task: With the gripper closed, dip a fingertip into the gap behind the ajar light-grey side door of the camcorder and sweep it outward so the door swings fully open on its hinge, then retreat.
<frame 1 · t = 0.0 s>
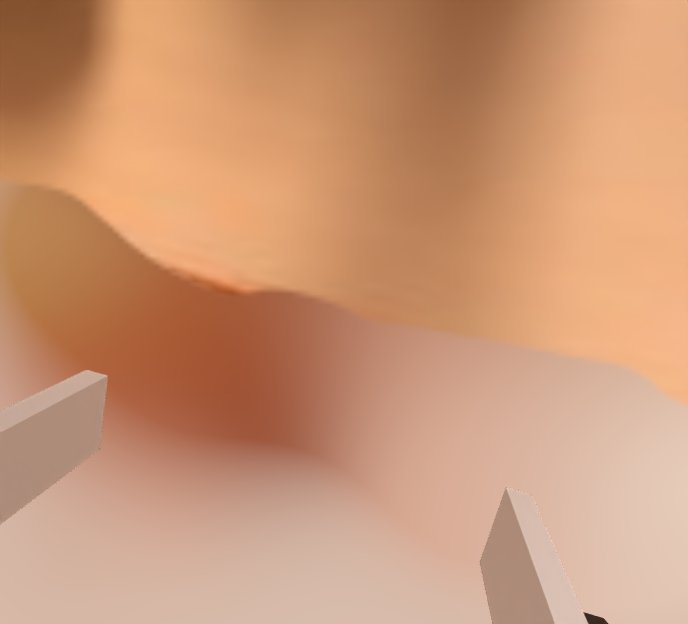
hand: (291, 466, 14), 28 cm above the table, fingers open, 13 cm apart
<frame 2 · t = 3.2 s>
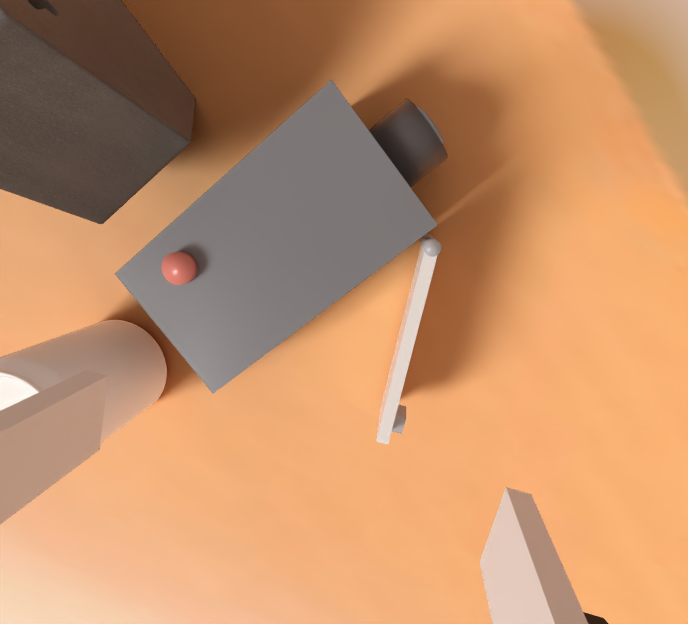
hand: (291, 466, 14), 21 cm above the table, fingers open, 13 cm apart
beverage can: (127, 363, 39), on the table
grey bevelled block: (123, 85, 34), on the table
door: (412, 335, 31), point 4 cm above the table, hinge at 40.0°
camcorder: (294, 243, 35), on the table
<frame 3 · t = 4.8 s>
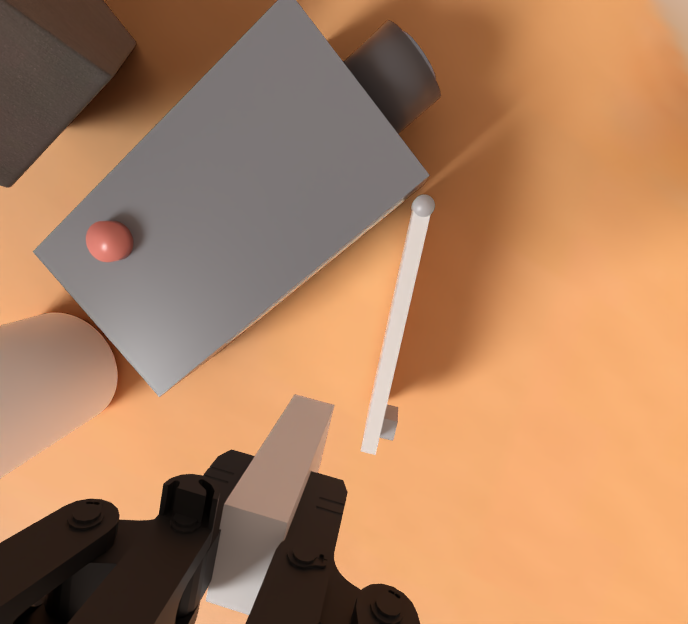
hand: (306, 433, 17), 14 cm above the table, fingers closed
beverage can: (73, 364, 33), on the table
grey bevelled block: (51, 30, 28), on the table
door: (403, 320, 26), point 4 cm above the table, hinge at 40.0°
camcorder: (260, 215, 29), on the table
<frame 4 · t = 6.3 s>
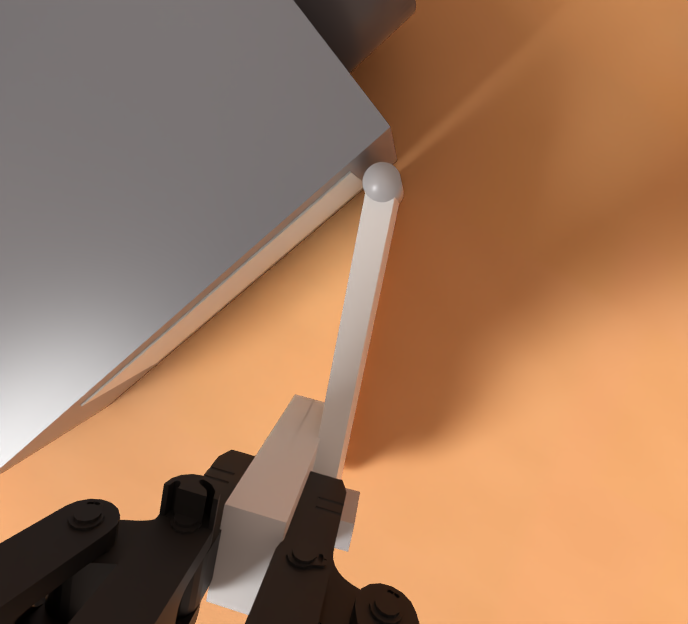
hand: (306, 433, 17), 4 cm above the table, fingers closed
door: (362, 368, 16), point 4 cm above the table, hinge at 40.0°, touching gripper
camcorder: (163, 207, 20), on the table
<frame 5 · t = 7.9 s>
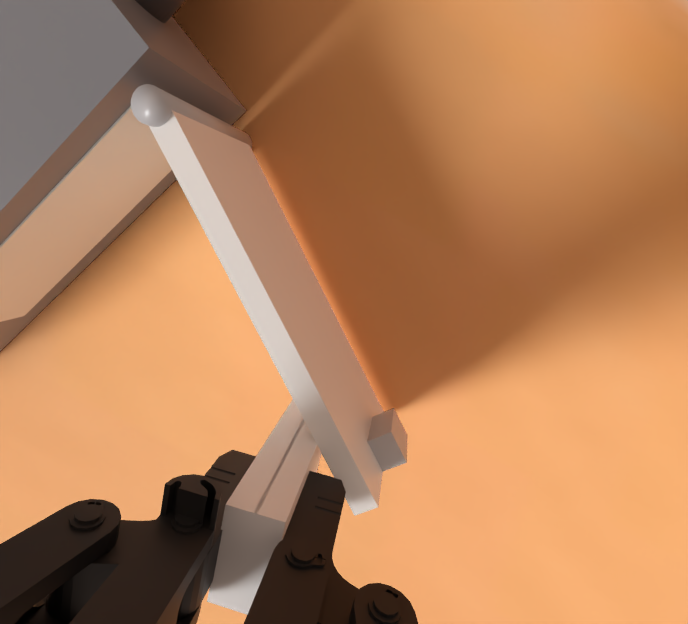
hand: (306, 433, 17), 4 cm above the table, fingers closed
door: (299, 290, 16), point 4 cm above the table, hinge at 77.6°, touching gripper
camcorder: (29, 161, 20), on the table
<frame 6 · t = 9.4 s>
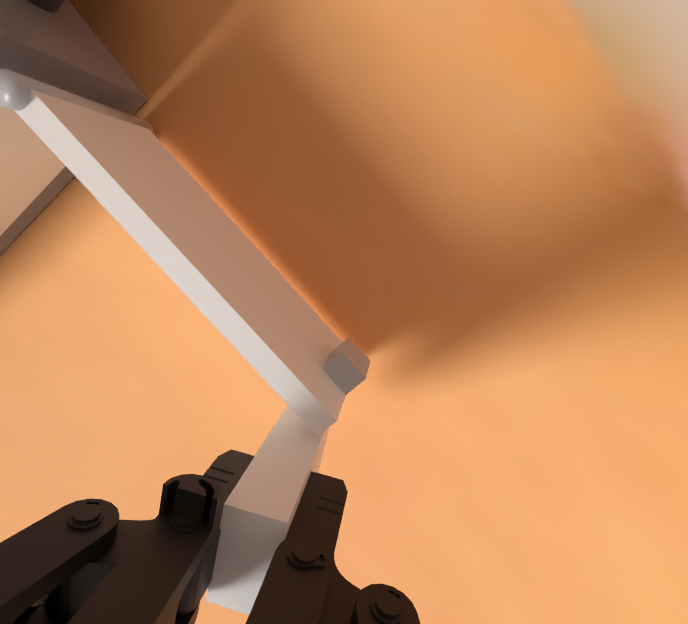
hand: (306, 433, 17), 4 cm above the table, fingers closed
door: (220, 243, 16), point 4 cm above the table, hinge at 93.5°
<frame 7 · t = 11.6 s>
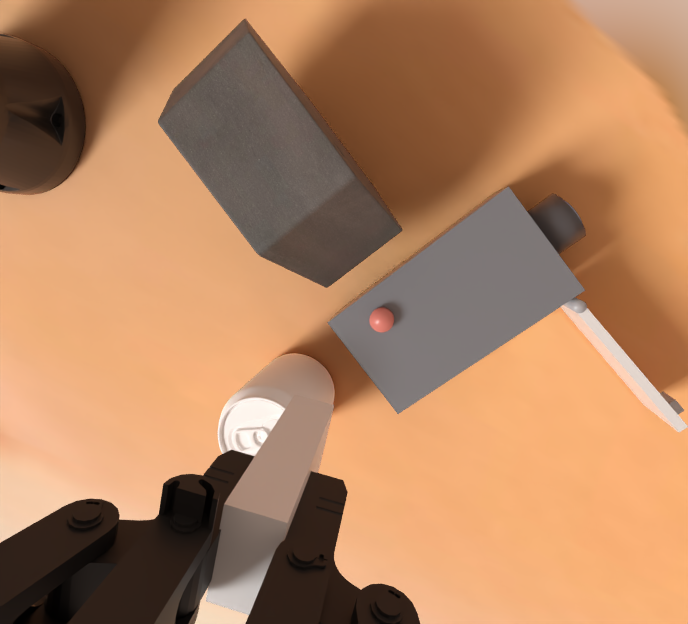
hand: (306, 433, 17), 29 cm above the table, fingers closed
beverage can: (298, 388, 48), on the table
grey bevelled block: (314, 173, 44), on the table
door: (617, 352, 39), point 4 cm above the table, hinge at 93.5°
camcorder: (445, 295, 44), on the table
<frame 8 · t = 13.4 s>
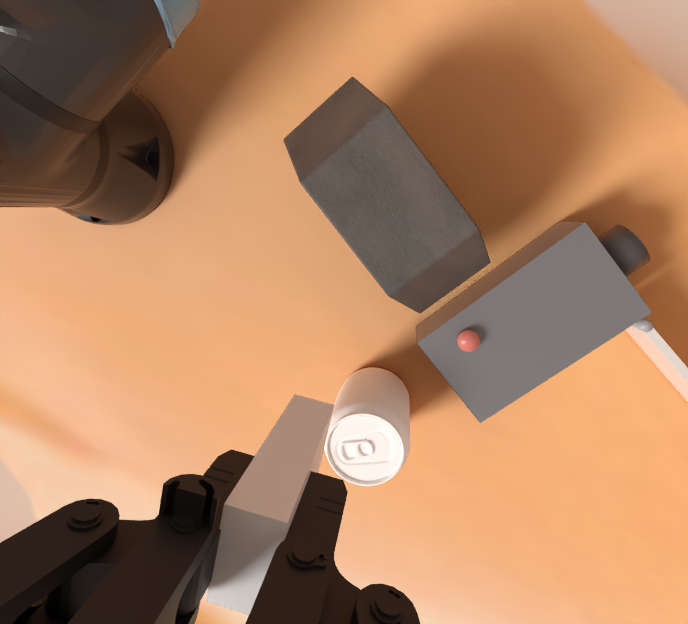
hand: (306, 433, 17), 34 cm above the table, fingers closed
beverage can: (374, 398, 53), on the table
grey bevelled block: (391, 204, 48), on the table
door: (674, 364, 44), point 4 cm above the table, hinge at 93.5°
camcorder: (512, 312, 49), on the table
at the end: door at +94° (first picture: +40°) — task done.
